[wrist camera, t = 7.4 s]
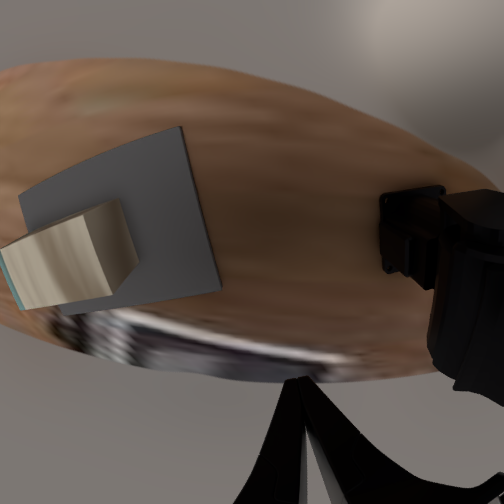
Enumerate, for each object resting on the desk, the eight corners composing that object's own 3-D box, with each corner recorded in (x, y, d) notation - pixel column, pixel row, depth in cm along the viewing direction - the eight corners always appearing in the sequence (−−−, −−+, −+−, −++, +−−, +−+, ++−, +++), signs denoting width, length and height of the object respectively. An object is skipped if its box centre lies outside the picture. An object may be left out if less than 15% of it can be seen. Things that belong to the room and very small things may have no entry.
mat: (181, 126, 17) (179, 126, 16) (222, 286, 21) (221, 290, 20) (22, 194, 18) (17, 195, 17) (66, 312, 22) (63, 315, 21)
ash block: (82, 214, 13) (-5, 251, 14) (112, 295, 15) (20, 310, 15) (118, 197, 18) (31, 231, 18) (139, 261, 19) (51, 282, 20)
